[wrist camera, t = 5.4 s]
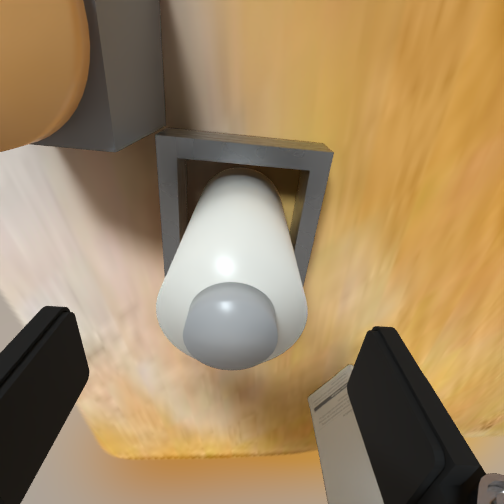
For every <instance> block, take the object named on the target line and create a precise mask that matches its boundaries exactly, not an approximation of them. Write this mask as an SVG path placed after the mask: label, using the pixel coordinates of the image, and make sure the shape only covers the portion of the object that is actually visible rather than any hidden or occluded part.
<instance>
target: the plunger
mask: <svg viewBox="0 0 504 504" xmlns="http://www.w3.org/2000/svg"><path fill="white" fill-rule="evenodd" d="M89 64H90V39H89V29H88V21H87V16H86V11H85V6H84V1H83V0H0V152H2V151H6V150H10V149H13V148H17V147H20V146H24V145H27V144H31V143H34V142H38V141H40V140H42V139H44V138H46V137H49V136H50V135H52V134H53V133H55V132H56V131H57V130H59V129H60V128H61V127H62V126H63V125H64V124H65V123H66V122H67V121H68V120H69V119H70V117H71V116H72V114H73V113H74V112H75V110H76V109H77V107H78V104H79V102H80V100H81V98H82V96H83V93H84V89H85V86H86V82H87V78H88V71H89Z"/></svg>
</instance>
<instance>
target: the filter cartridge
mask: <svg viewBox="0 0 504 504" xmlns="http://www.w3.org/2000/svg"><path fill="white" fill-rule="evenodd" d="M156 313H157V319H158V322H159V325H160V327H161V329H162V331H163V333H164V334H165V335H166V337H167V338H168V340H169V341H170V342H171V343H172V344H173V345H174V346H176V347H177V348H178V349H179V350H181V351H182V352H184V353H185V354H187V355H189V356H191V357H193V358H195V359H197V360H198V361H200V362H201V363H203V364H205V365H208V366H210V367H213V368H217V369H222V370H241V369H247V368H250V367H253V366H256V365H258V364H260V363H263V362H266V361H268V360H271V359H273V358H275V357H277V356H279V355H280V354H282V353H284V352H285V351H286V350H288V349H289V348H290V347H291V346H292V345H293V344H294V343H295V342H296V341H297V340H298V338H299V337H300V335H301V334H302V332H303V330H304V327H305V324H306V321H307V315H308V314H307V302H306V297H305V294H304V290H303V286H302V282H301V278H300V274H299V270H298V266H297V262H296V258H295V254H294V250H293V246H292V242H291V238H290V234H289V230H288V226H287V222H286V219H285V215H284V211H283V207H282V203H281V199H280V195H279V192H278V190H277V188H276V187H275V185H274V184H273V182H272V181H271V180H270V179H269V178H268V177H266V176H265V175H264V174H262V173H260V172H258V171H256V170H253V169H250V168H244V167H236V168H230V169H226V170H224V171H221V172H220V173H218V174H216V175H215V176H214V177H212V178H211V179H210V180H209V182H208V183H207V184H206V186H205V188H204V189H203V192H202V194H201V196H200V198H199V201H198V203H197V205H196V208H195V210H194V212H193V215H192V217H191V219H190V222H189V224H188V226H187V229H186V231H185V233H184V235H183V238H182V240H181V242H180V245H179V247H178V249H177V252H176V254H175V256H174V259H173V261H172V263H171V266H170V268H169V270H168V272H167V275H166V277H165V279H164V282H163V284H162V286H161V289H160V291H159V294H158V297H157V303H156Z"/></svg>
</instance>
